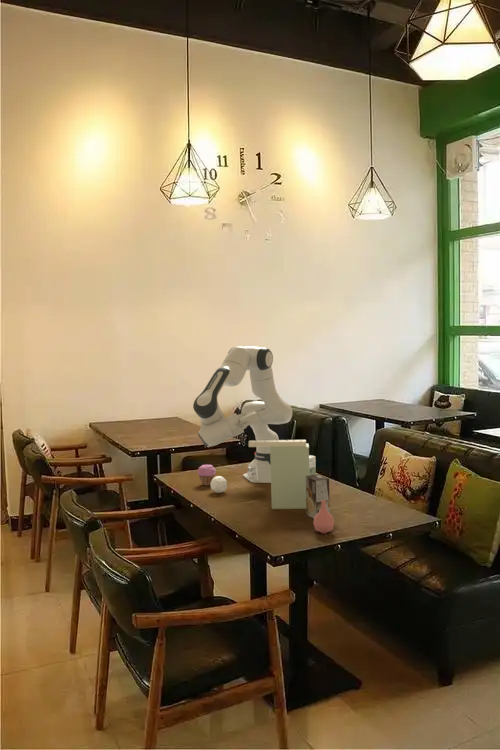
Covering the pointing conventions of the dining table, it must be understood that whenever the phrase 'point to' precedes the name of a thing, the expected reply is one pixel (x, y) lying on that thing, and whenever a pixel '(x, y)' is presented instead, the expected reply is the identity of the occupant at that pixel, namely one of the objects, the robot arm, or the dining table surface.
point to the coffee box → (316, 494)
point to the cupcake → (206, 474)
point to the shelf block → (289, 476)
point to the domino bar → (276, 443)
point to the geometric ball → (218, 484)
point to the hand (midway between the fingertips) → (266, 410)
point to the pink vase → (323, 520)
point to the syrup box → (312, 465)
